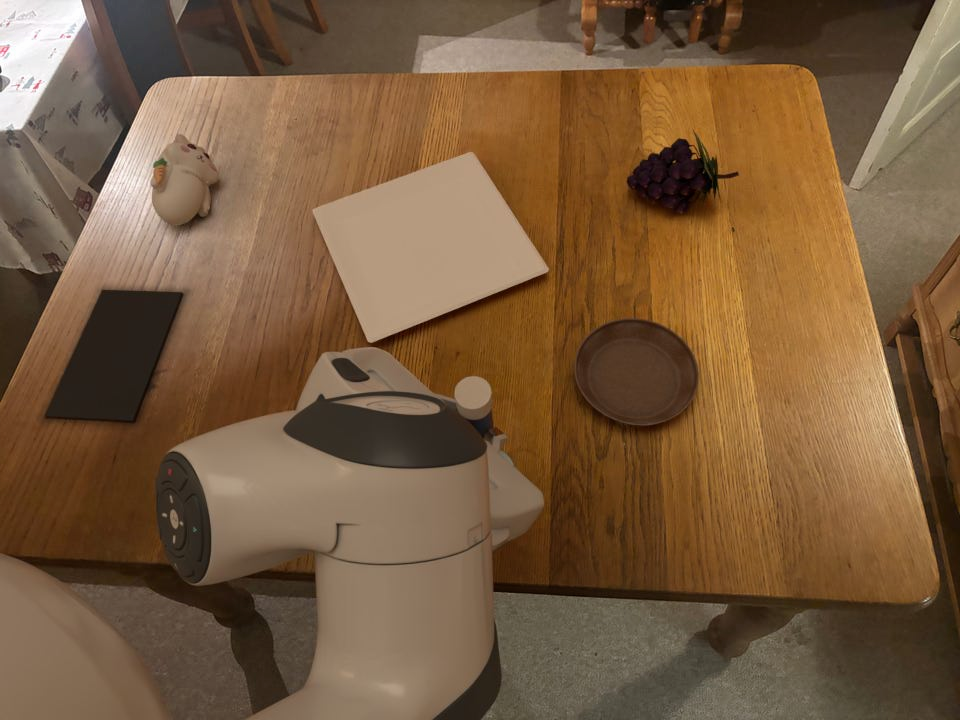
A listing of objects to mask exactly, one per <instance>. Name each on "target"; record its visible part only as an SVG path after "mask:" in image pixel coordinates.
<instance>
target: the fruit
mask: <svg viewBox="0 0 960 720" xmlns="http://www.w3.org/2000/svg"><path fill="white" fill-rule="evenodd" d="M692 132H693V134H694V137H695V141H696V144H697V147H696V145H694V144H690V143H689V141H688V140H687V139H685V138H680V137H678V138H677V139H676V140H675V141H674V142H673V143H672V144H670V146H664V147H663V148H662V149H661V150H660V151H659V153H656V152H650V154H649V155H648V156H647V159H642V160H641V161H639V165H637V166H636V167H634V168H633V170H632V172H631V173H632V174H630V175H629V176H627V178H626V184H627V187H629V189H630V190H631V191H635V193H636V195H637V196H638V197H646V199H647V201H648V202H649V203H650V204H654V205H657V203H658V202H660V201H661V202H662V205H663V207H665V208H667V209H672V211H673V212H676V213H678V214H684V213H685V212H687V211H688V210H689V208H690V205H691V204H694V205H693V206H692V208H694V207H695V205H696V204H697V203H698V201H699V200H700V199H701V198H702V196H703V199H702V203H701V205H700V206H701V207H700V208H702V207H703V205H704V203H705V201H706V198H707V196H708V195H710V194H711V190H712V195H713V201H715V200H716V197H717V196H716V195H718V198H719V201H720V203H722V200H721V193H720V186H719V180H723V179H724V180H727V179H732V178H737V177H739V176H740V173H739V171H735V172H730V173H726V174H719V163H718V158H717V155H715V156H712V157H710V155H709V152H708V149H707V147H706V146H705V145H704V143H703V142H702V141H701V139H700V138H699V135H698V133H696V131H695V130H694V129H692ZM691 147H694V149H695V152H693V150H692V149H691ZM694 155H695V156H696V158H693V156H694ZM697 191H699V193H698V195H697V197H696V198H695V199H694V201H690V200H691V199H692V198H693V197H694V196H696V195H695V194H696V192H697Z"/></svg>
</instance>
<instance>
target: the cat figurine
mask: <svg viewBox="0 0 960 720" xmlns="http://www.w3.org/2000/svg"><path fill="white" fill-rule="evenodd" d="M210 157H211V156H210V155H209V154H208V153H207V152H206V150H205V149H204V147H202V146H198V145H197V144H195V143H193V142H190V141H189V140H188V138H187V137H186V136H185V135H184V134H182V133H178V134H176V135H175V137H174V140H173V142H170V143H169V144H168V145H166V147H165V148H164V149H163V150H162V152H161V153H160V155H159V156H158V158H157V160H155V161H154V162H153V165H152V166H153V167H152V168H153V171H152V174H153V175H152V177H151V178H150V181H149V182H150V186H151V187H152V191H151V202H152V207H153V210H154V211H155V214H157V216H158V217H159V218H160V219H161V220H162V221H164V222H165V223H167V224H169V225H172V226H180V225H181V226H182V225H185V224H187V223H188V222H190V221H191V220H192V219H193V218H194V217H195V216H197V214H198V215H199V217H201V218H205V217H206V216H208V215H209V211H210V209H211V201H212V199H211V192H210V188H209V187H211V185H213V184H215V183H217V182H218V181H219V179H220V174H219V171H218V169H217V167H216V165H215V164H214V163H213V161H212V159H211V158H210Z"/></svg>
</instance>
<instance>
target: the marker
mask: <svg viewBox="0 0 960 720" xmlns="http://www.w3.org/2000/svg"><path fill="white" fill-rule="evenodd" d="M492 391H493V390H492V387H491V384H490V383H489V382H488V381H487V380H486V379H485V378H484V377H481V376H477V375H470V376H466V377H464V378H462V379H461V380H460V381H459V382H458V383H456V385H455V388H454V393H453V396H454V400H455V401H456V406H457V410H458V412H459V414H460V415H461V416H463V417H464V418H465V419H466V420H467V421H468V422H469V423H470V424H471V425H472V426H473V427H474V428H475V429H476V430H477V431H478V432H479V434H480V435H481V436H482V437H483V438H484V434H485V433H486V432H487V430H489V429H491V428H494V427H495V426H494V415H493V403H494V402H493V393H492Z"/></svg>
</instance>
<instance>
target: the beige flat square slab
mask: <svg viewBox="0 0 960 720" xmlns="http://www.w3.org/2000/svg"><path fill="white" fill-rule="evenodd" d="M311 212H312V214H313V217H314V219H315V221H316V223H317V226H318V228H319V231H320V233H321V235H322V237H323V240H324V242H325V244H326V247H327V249H328V252H329V254H330V257H331V258H332V261H333V263H334V266H335V268H336V270H337V272H338V275H339V277H340V280H341V282H342V285H343V287H344V289H345V292H346V294H347V296H348V298H349V301H350V303H351V306H352V308H353V310H354V313H355V315H356V317H357V319H358V322H359V324H360V327H361V329H362V331H363V333H364V336H365V339H366V341H367V343H371V344H373V343H375V342H377V341H380V340H382V339H385V338H387V337H390V336H393V335H395V334H397V333H399V332H402V331H404V330H408V329H410V328H413V327H414V326H416V325H420V324H421V323H424V322H427V321H430V320H431V319H434V318H437V317H440V316H442V315H444V314H447V313H449V312H452V311H454V310H457V309H460V308H461V307H465V306H467V305H469V304H472V303H474V302H477V301H479V300H482V299H485V298H486V297H489V296H492V295H494V294H497V293H499V292H502V291H505V290H507V289H509V288H511V287H514V286H517V285H519V284H522V283H524V282H527V281H529V280H532V279H534V278H536V277H539V276H542V275H544V274H546V273H548V272H549V270H550V268H549V267H548V265H547V264H546V262H545V261H544V258H543V257H542V256H541V255H540V253H539V251H538V249H537V248H536V247H535V245H534V243H533V242H532V240H531V239H530V237H529V236H528V234H527V233H526V231H525V230H524V228H523V227H522V224H521V223H520V221H519V220H518V219H517V217H516V216H515V214H514V212H513V211H512V210H511V208H510V206H509V205H508V203H507V202H506V201H505V199H504V197H503V196H502V194H501V192H500V191H499V189H498V188H497V186H496V185H495V184H494V181H493V179H492V178H491V177H490V176H489V174H488V172H487V171H486V169H485V168H484V167H483V165H482V163H481V162H480V160H479V159H478V157H477V155H476V154H475V153H474V152H473V151H468V152H466V153H463V154H460V155H457V156H455V157H452V158H449V159H446V160H444V161H441V162H438V163H435V164H433V165H430V166H427V167H425V168H422V169H419V170H416V171H413V172H410V173H408V174H405V175H402V176H399V177H397V178H393V179H391V180H389V181H385V182H383V183H380V184H377V185H374V186H372V187H369V188H366V189H364V190H363V189H362V190H361V191H358V192H355V193H352V194H350V195H347V196H344V197H341V198H338V199H336V200H333V201H330V202H328V203H325V204H322V205H320V206H317V207H314V208H313V209H312V211H311Z"/></svg>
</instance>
